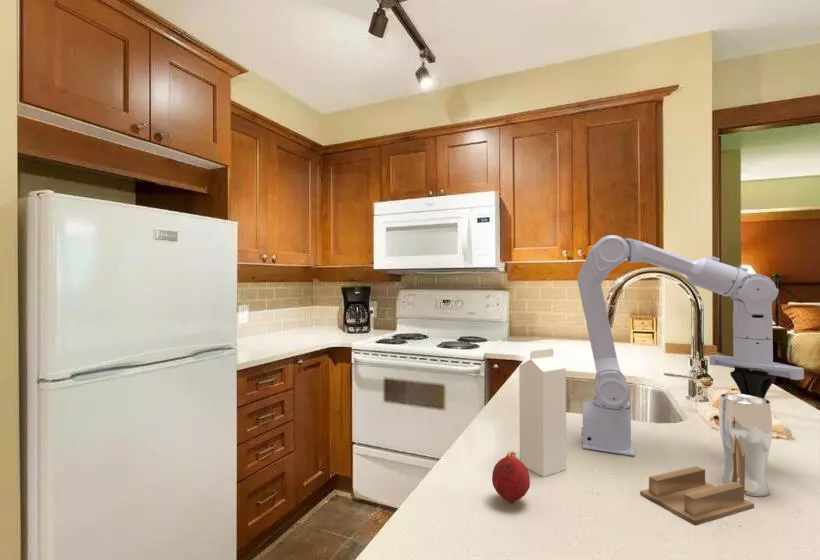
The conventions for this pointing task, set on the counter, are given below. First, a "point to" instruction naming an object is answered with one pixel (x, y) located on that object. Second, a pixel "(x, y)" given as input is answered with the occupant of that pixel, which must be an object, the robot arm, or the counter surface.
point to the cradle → (695, 495)
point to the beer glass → (746, 440)
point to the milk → (543, 413)
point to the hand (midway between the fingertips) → (753, 410)
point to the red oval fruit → (511, 478)
